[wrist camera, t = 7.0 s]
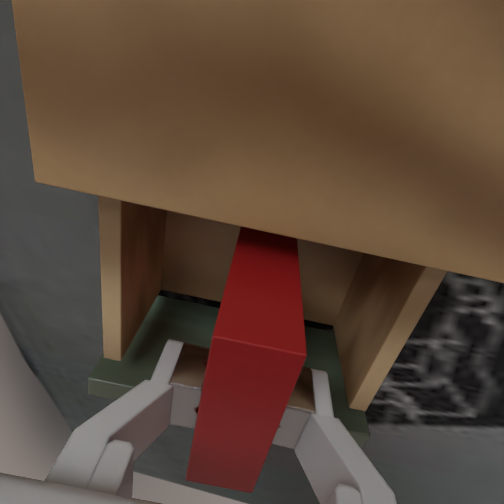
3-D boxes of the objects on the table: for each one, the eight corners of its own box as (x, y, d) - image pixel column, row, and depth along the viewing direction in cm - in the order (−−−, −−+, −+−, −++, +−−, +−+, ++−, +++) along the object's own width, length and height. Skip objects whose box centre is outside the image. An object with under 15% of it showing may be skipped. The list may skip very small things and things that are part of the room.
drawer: (322, 387, 24) (335, 492, 18) (139, 350, 24) (91, 444, 18) (445, 117, 15) (553, 149, 9) (152, 51, 15) (61, 38, 9)
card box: (265, 312, 18) (252, 493, 11) (226, 304, 18) (185, 480, 11) (294, 208, 15) (307, 355, 7) (248, 197, 15) (212, 336, 7)
